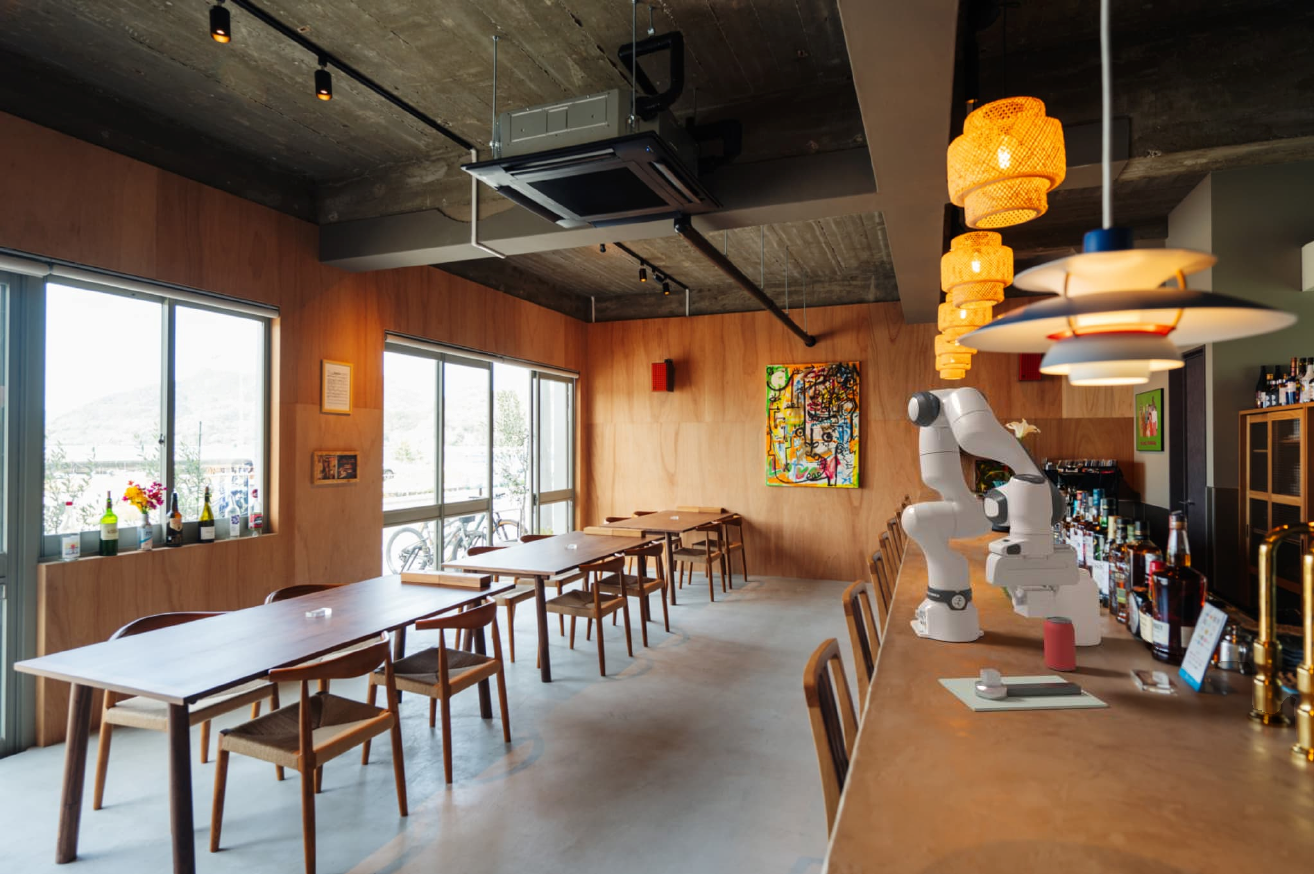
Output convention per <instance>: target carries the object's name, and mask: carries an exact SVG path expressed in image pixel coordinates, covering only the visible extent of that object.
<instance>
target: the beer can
mask: <svg viewBox="0 0 1314 874" xmlns="http://www.w3.org/2000/svg"><path fill="white" fill-rule="evenodd" d="M1043 643H1044V645H1043V646H1044V664H1045V666H1046V667H1047V668H1049V669H1051V670H1053V671H1057V672H1072V671H1075V670H1076V668H1077V659H1076V657H1077V656H1076V653H1077V652H1076V646H1075V629H1074V626H1073V624H1072V620H1071V619H1069V618H1065V617H1056V616H1054V617H1045V622H1044V624H1043Z"/></svg>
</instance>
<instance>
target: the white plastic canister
mask: <svg viewBox="0 0 1314 874" xmlns="http://www.w3.org/2000/svg"><path fill="white" fill-rule="evenodd" d="M1079 573H1080V581H1079V582H1078V584H1077V585H1059V588H1060V590H1059V592H1058V593H1057V595H1056V597H1055V604H1054V616H1056V617H1065V618H1069V619H1071V620H1072V624H1073V626H1074V629H1075V647H1076V646H1077V647H1091V646H1097V645H1099V644H1100V643H1101V641H1102V635H1101V610H1100V609H1101V607H1100V604H1101V603H1100V588H1099V584H1098V582H1097V581H1096V580H1095V579H1094V578H1093V577H1091V572H1090V570H1089V569H1086V568H1083V567H1079ZM1047 588H1048V586H1047ZM1048 589H1050V588H1048Z"/></svg>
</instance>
